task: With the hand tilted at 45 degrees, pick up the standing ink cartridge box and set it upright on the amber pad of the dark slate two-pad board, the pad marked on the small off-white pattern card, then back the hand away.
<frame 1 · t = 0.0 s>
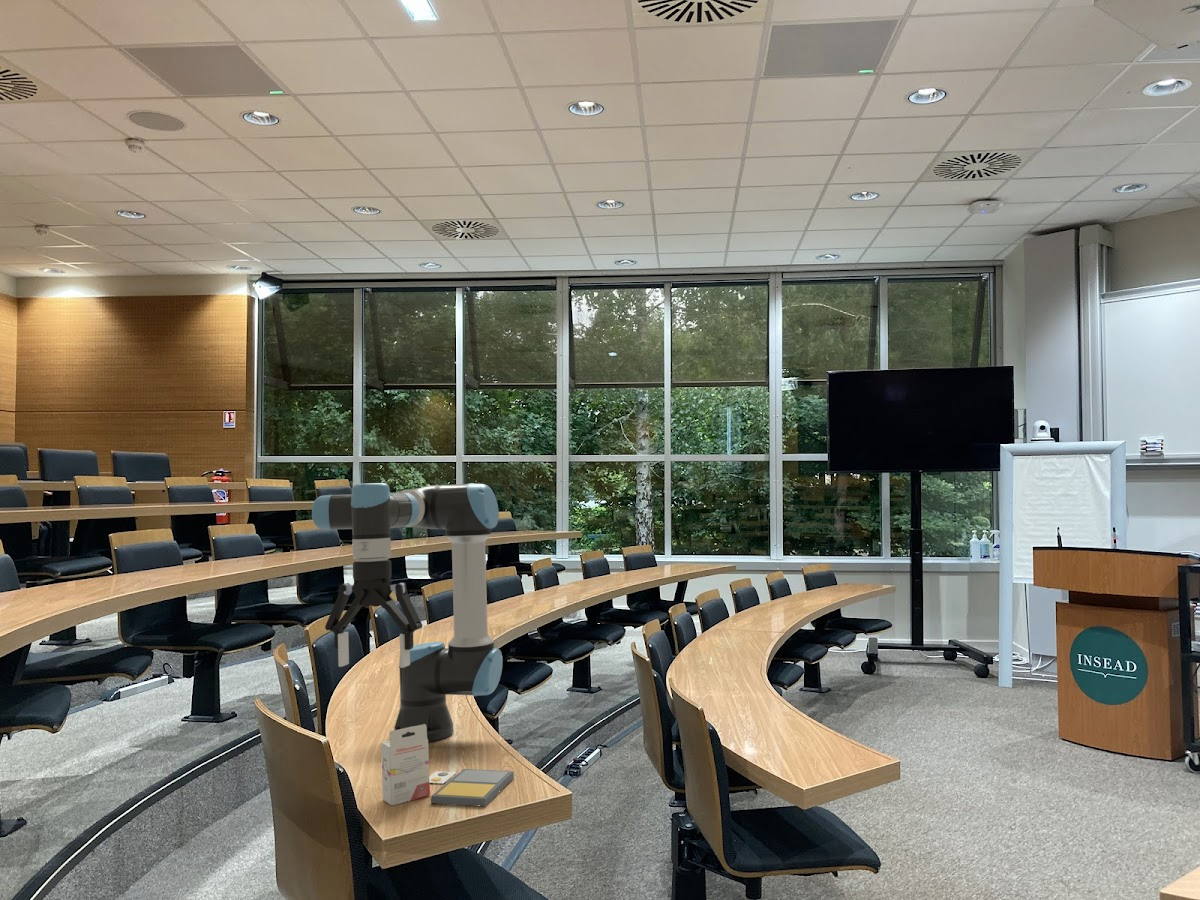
hand: (374, 666, 167), 28 cm above the table, tool pointing down, fingers open, 13 cm apart
ink cartridge box: (406, 799, 171), on the table
pattern card: (439, 778, 182), on the table
pad board: (474, 790, 174), on the table
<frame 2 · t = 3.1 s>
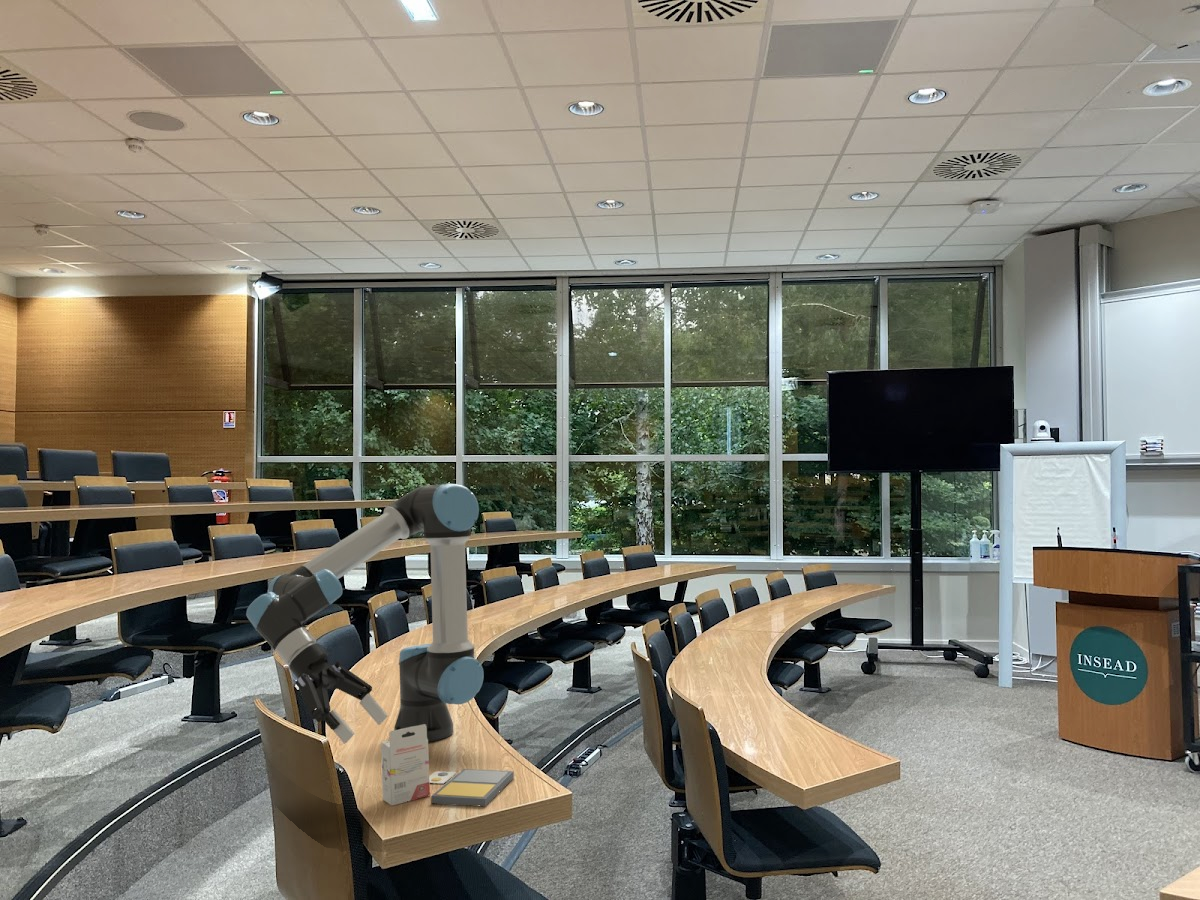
hand: (367, 729, 173), 14 cm above the table, tool tilted 45°, fingers open, 13 cm apart
nothing on the table moved.
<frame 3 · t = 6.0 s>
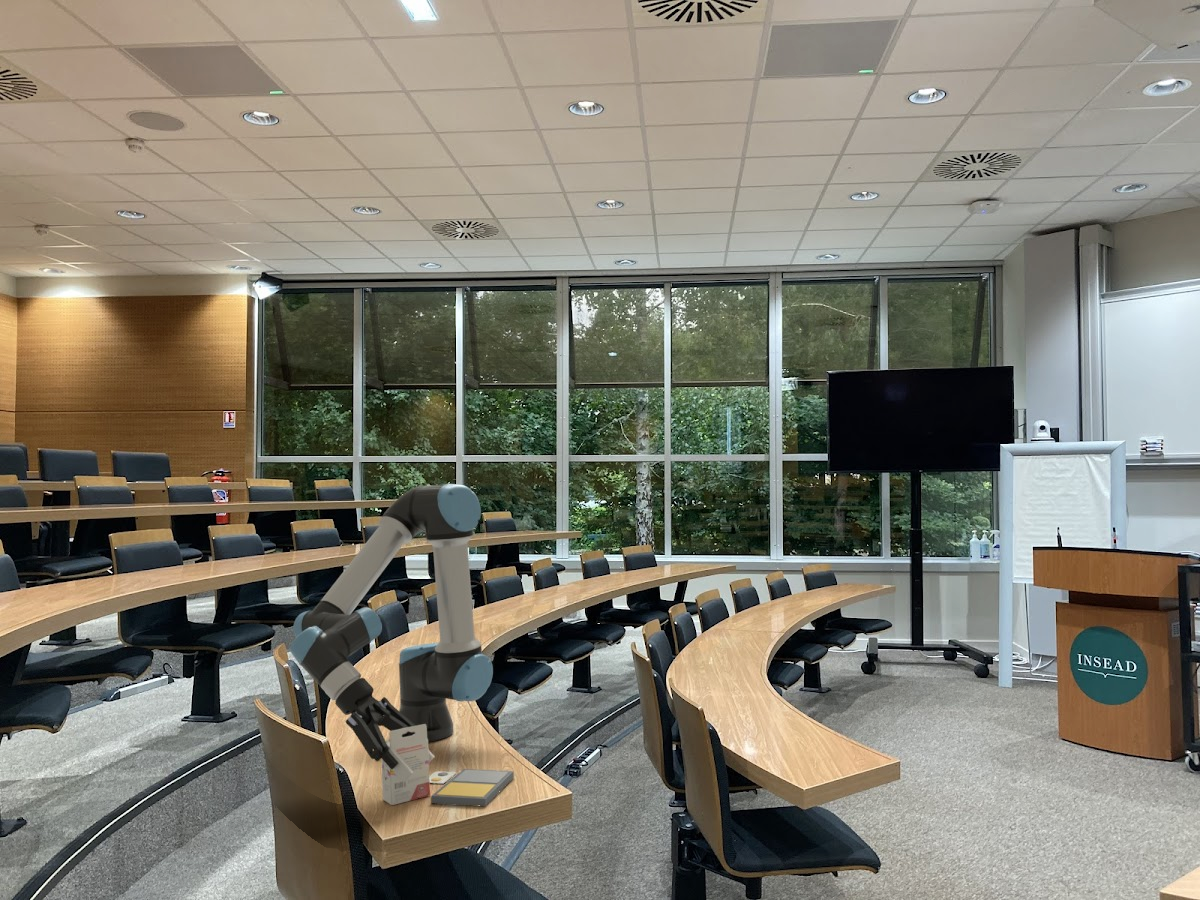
hand: (419, 769, 170), 6 cm above the table, tool tilted 45°, fingers closed on ink cartridge box, 9 cm apart
ink cartridge box: (406, 798, 171), on the table, touching gripper
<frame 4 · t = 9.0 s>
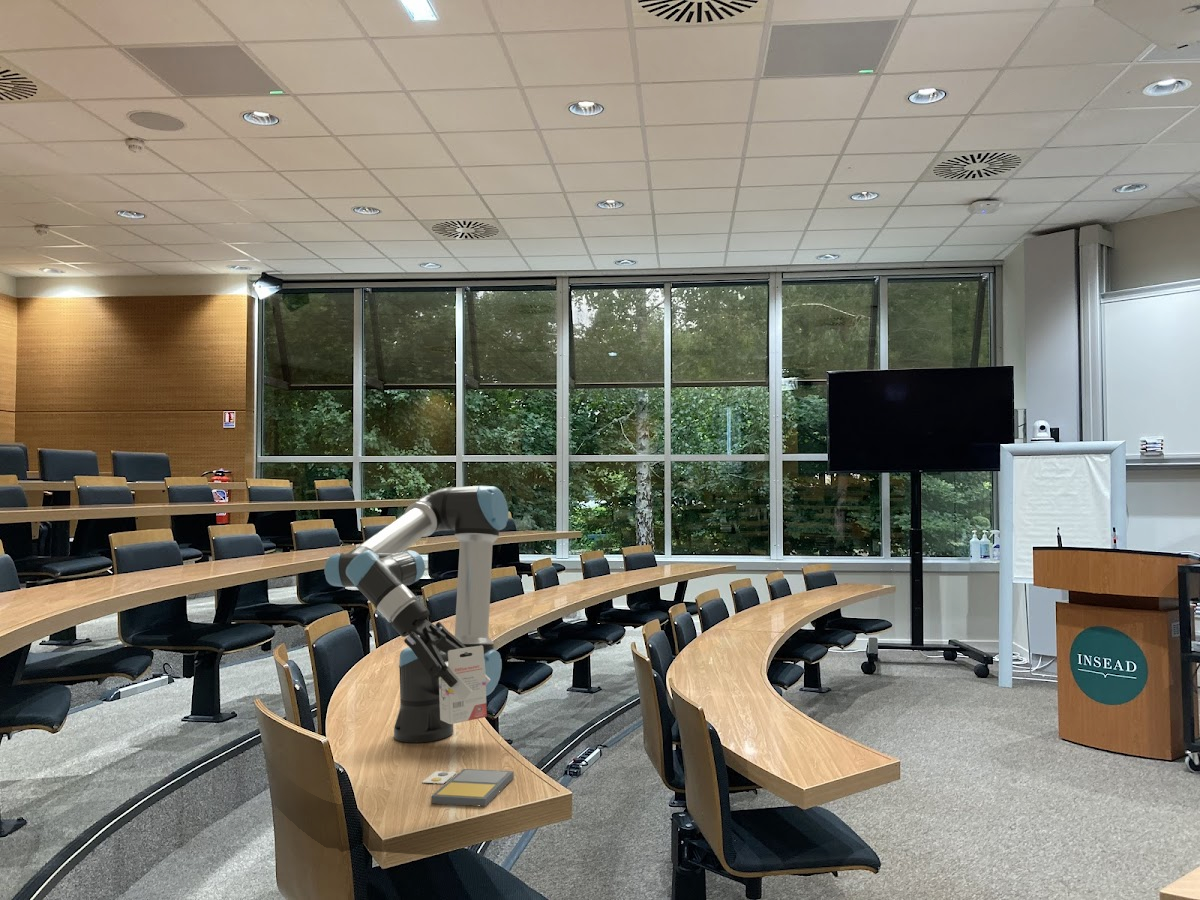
hand: (477, 690, 170), 22 cm above the table, tool tilted 45°, fingers closed on ink cartridge box, 9 cm apart
ink cartridge box: (463, 719, 171), point 16 cm above the table, touching gripper
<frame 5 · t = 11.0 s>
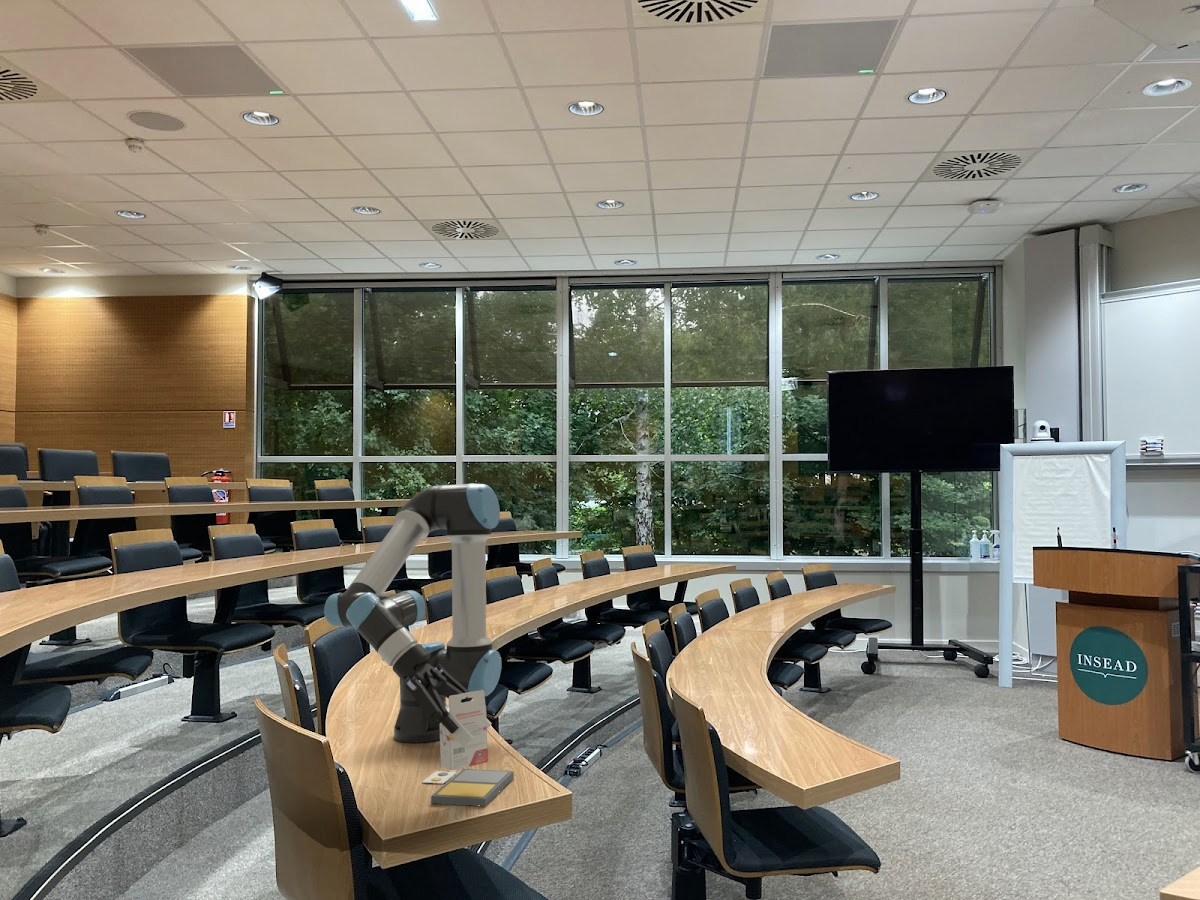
hand: (478, 735, 169), 13 cm above the table, tool tilted 45°, fingers closed on ink cartridge box, 9 cm apart
ink cartridge box: (463, 765, 170), point 7 cm above the table, touching gripper
when the fingers open (9 cm above the table, at t = 12.5 s): ink cartridge box drops 1 cm, resting on pad board.
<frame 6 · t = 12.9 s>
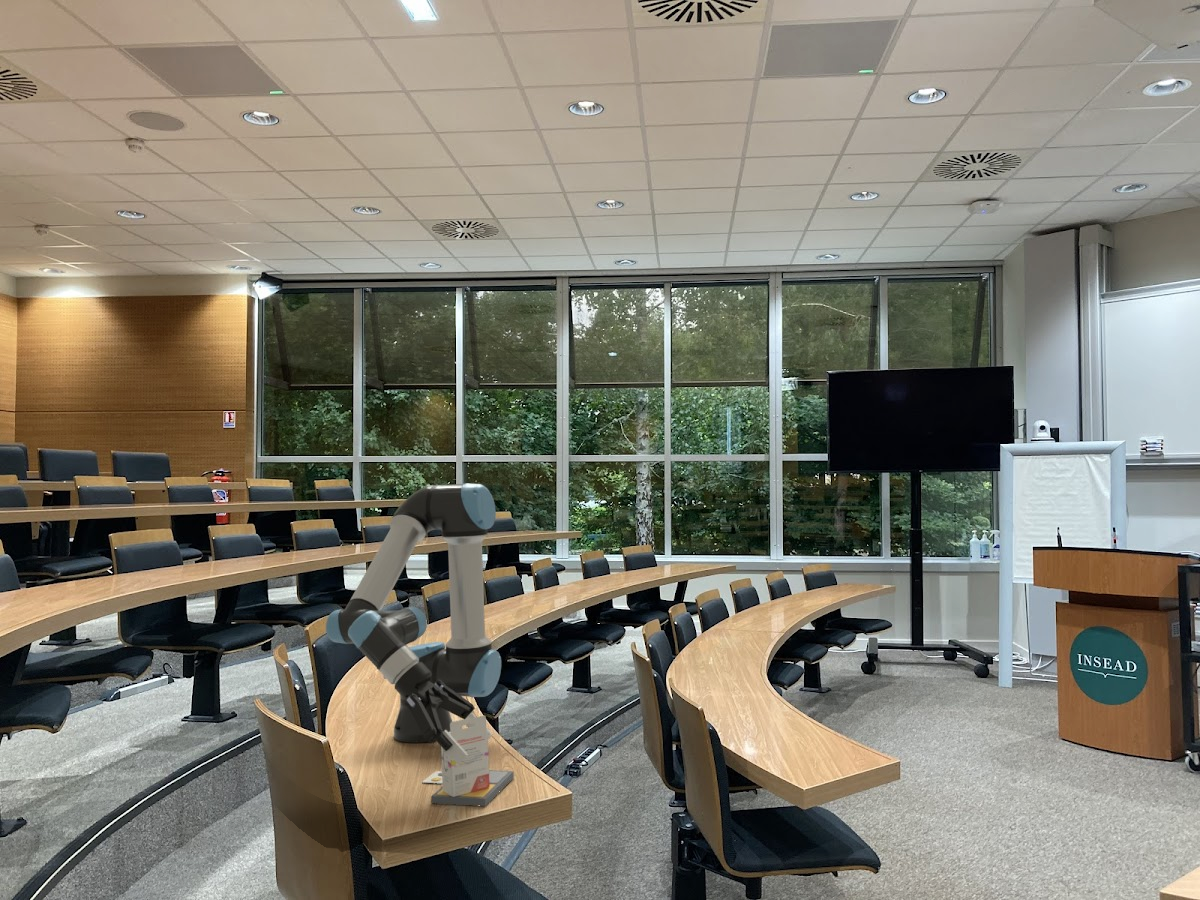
hand: (476, 749, 170), 10 cm above the table, tool tilted 45°, fingers open, 13 cm apart
ink cartridge box: (465, 790, 170), point 1 cm above the table, touching pad board
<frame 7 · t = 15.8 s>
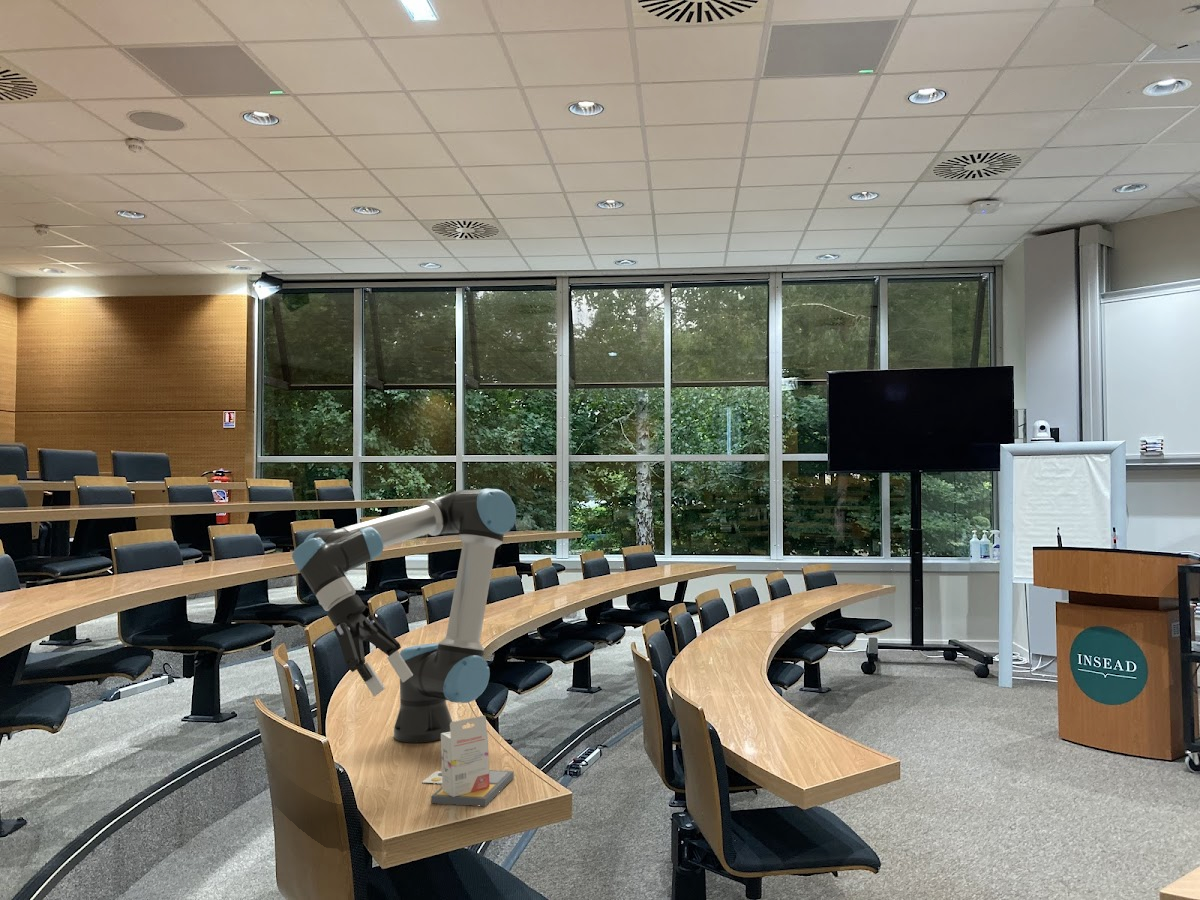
hand: (394, 685, 177), 22 cm above the table, tool tilted 35°, fingers open, 13 cm apart
nothing on the table moved.
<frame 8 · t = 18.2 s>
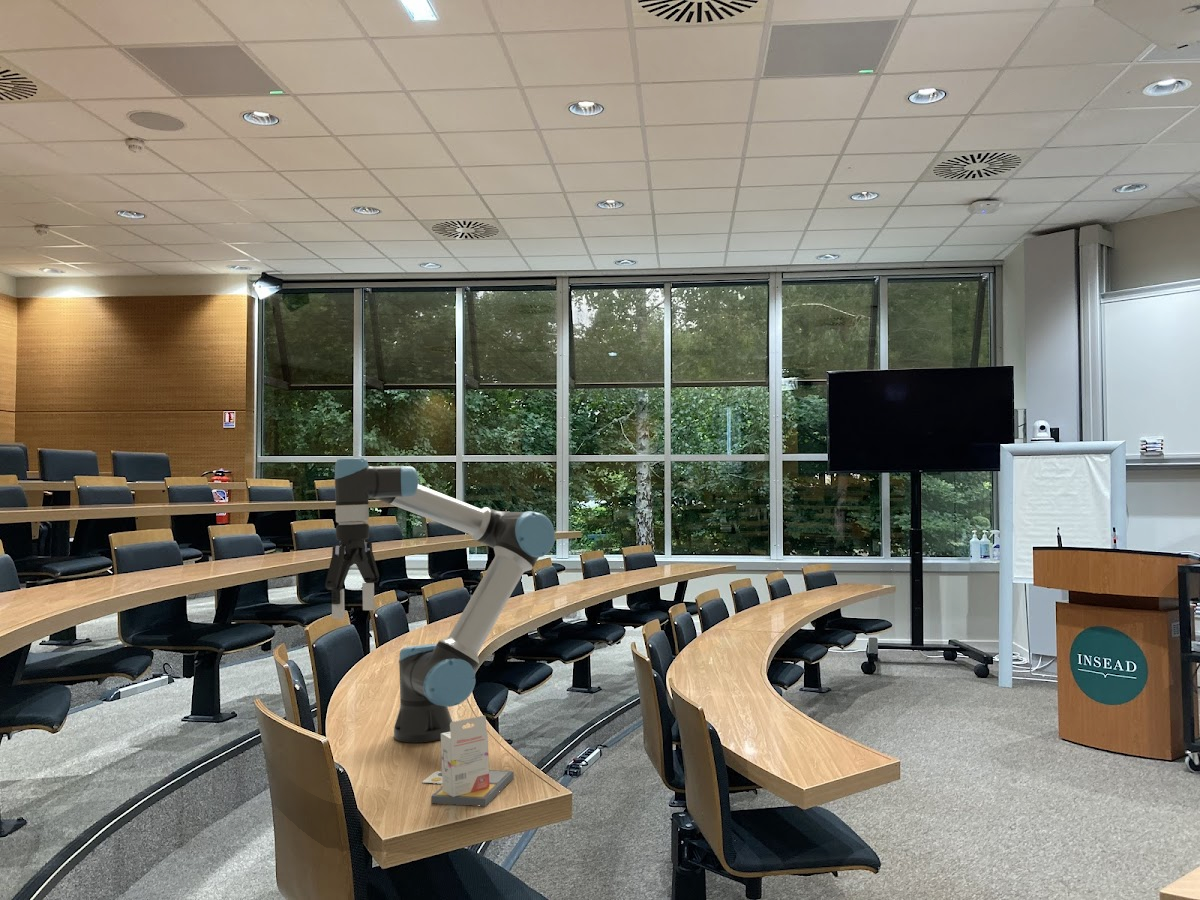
hand: (354, 614, 195), 35 cm above the table, tool pointing down, fingers open, 13 cm apart
nothing on the table moved.
at the end: ink cartridge box inside the target area on the pad board (0.1 cm from its centre), point 1.4 cm above the pad board's base; ink cartridge box tilted 0°; the gripper is holding nothing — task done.
